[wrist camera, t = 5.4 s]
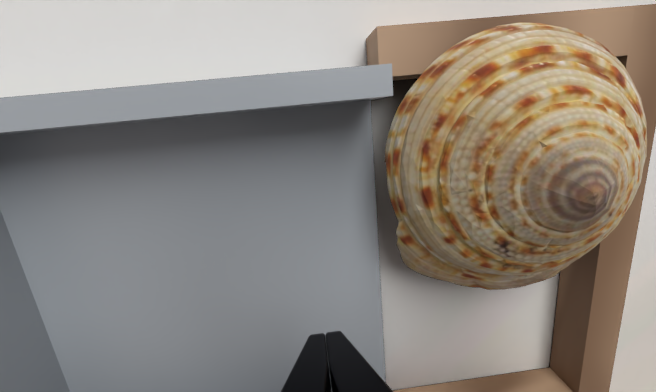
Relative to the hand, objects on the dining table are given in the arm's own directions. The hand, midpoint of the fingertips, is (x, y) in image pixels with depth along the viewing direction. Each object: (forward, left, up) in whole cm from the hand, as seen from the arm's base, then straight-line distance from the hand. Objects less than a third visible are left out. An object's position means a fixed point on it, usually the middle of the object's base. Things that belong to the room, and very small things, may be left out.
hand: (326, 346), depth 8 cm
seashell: (-7, 0, -5) cm, 8 cm away
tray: (+4, 0, -5) cm, 6 cm away
